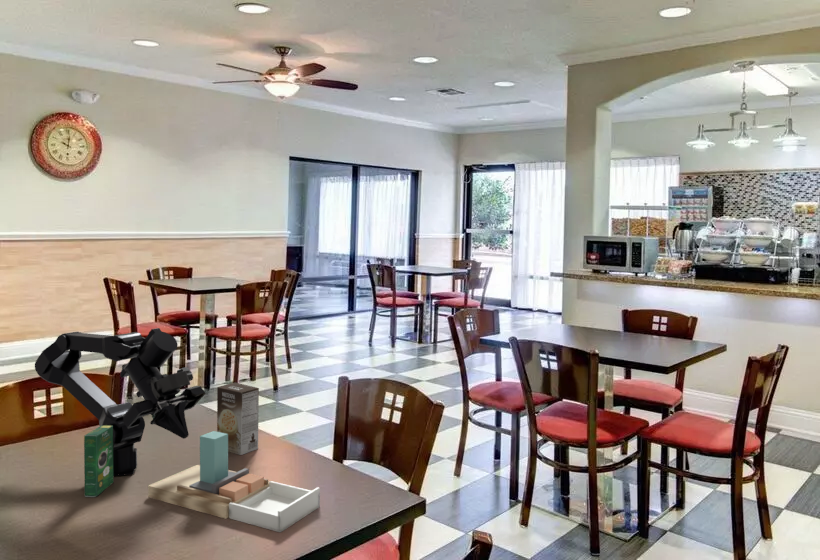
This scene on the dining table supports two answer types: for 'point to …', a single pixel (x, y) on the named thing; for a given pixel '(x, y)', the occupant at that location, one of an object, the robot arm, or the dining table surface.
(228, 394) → the coffee box
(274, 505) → the tray
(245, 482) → the tile
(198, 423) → the dining table surface
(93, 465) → the coffee box
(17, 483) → the dining table surface
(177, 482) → the board
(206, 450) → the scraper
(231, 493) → the tile
